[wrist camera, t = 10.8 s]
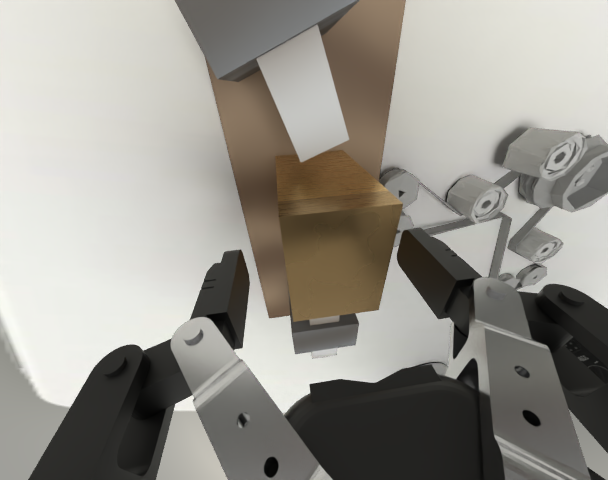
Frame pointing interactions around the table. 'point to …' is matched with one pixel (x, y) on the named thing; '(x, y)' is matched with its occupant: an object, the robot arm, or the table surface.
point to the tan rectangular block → (334, 234)
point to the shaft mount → (297, 112)
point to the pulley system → (533, 187)
